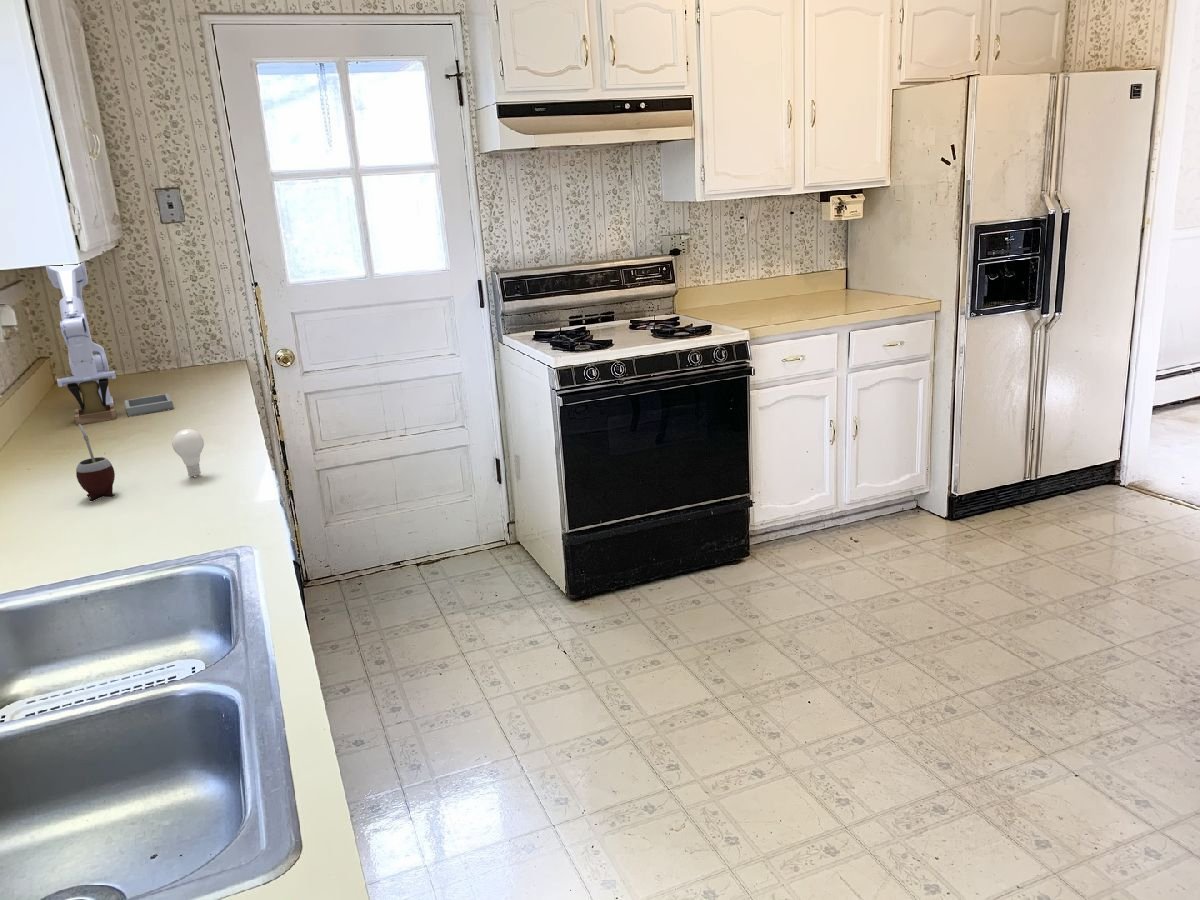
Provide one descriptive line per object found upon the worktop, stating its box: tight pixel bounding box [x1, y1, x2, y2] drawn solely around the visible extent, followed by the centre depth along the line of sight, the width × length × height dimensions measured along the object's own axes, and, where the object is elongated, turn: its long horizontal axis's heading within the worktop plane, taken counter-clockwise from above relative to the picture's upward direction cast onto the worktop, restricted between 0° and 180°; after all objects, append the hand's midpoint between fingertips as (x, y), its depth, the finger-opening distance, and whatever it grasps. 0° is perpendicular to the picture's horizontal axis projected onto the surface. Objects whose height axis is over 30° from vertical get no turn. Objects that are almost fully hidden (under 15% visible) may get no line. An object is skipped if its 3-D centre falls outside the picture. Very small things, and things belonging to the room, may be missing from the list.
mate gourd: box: [75, 424, 116, 502], centre depth 192 cm, size 8×8×15 cm
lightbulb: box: [171, 428, 205, 478], centre depth 201 cm, size 6×6×11 cm
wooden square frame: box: [74, 403, 117, 426], centre depth 259 cm, size 10×10×2 cm
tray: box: [124, 392, 174, 417], centre depth 267 cm, size 12×12×2 cm
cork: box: [78, 381, 106, 415], centre depth 258 cm, size 6×6×11 cm
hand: (93, 406), depth 259 cm, fingers closed on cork, 5 cm apart
